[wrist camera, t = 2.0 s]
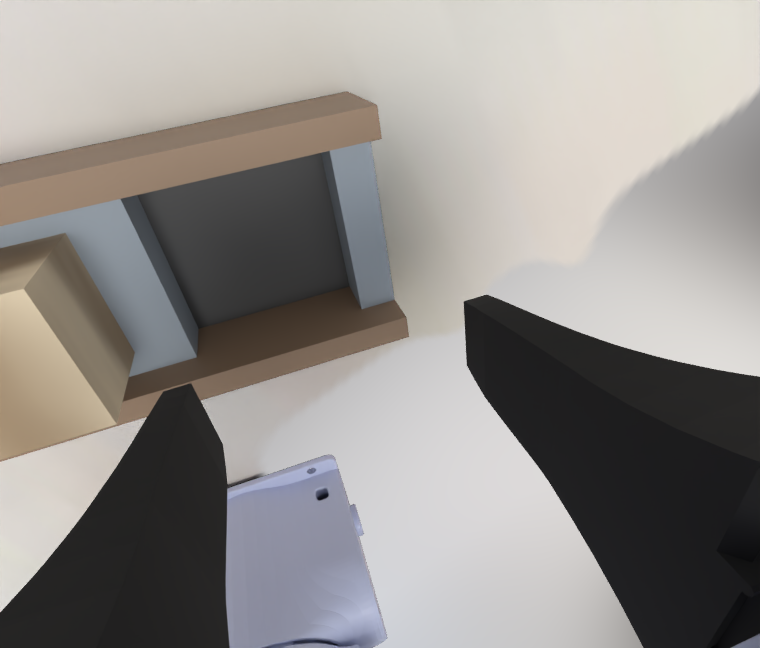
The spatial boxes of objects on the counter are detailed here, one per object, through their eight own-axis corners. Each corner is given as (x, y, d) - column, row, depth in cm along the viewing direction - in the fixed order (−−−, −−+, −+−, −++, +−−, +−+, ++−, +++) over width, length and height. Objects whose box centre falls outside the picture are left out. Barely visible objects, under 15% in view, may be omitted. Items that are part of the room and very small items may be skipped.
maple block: (65, 232, 15) (23, 288, 12) (135, 352, 18) (116, 424, 14) (-108, 273, 14) (-204, 346, 11) (-6, 392, 17) (-58, 477, 14)
